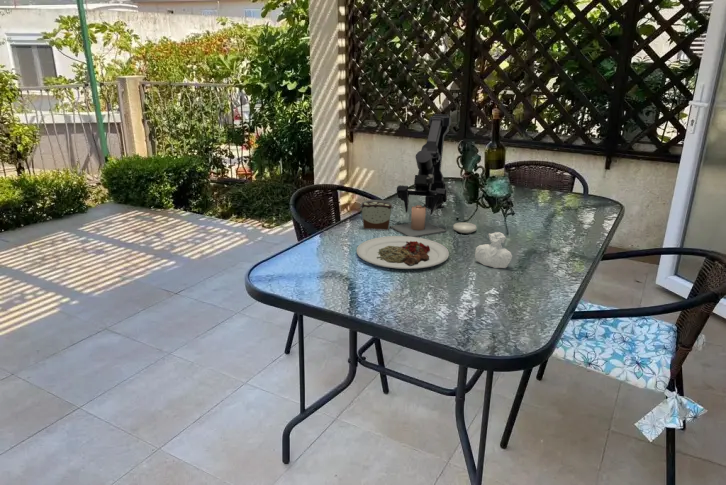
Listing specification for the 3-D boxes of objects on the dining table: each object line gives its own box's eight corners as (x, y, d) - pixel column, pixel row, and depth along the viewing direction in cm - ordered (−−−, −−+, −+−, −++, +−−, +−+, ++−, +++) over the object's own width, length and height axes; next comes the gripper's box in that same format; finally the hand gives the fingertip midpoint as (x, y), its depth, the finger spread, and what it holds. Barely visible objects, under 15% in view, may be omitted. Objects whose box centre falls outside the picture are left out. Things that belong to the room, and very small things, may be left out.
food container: (393, 225, 204) (394, 200, 201) (392, 230, 198) (393, 204, 195) (361, 224, 205) (361, 198, 202) (359, 228, 199) (360, 203, 196)
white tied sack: (510, 275, 164) (522, 242, 166) (504, 267, 158) (516, 233, 160) (475, 266, 171) (487, 234, 173) (467, 257, 165) (480, 225, 167)
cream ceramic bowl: (466, 226, 204) (466, 221, 203) (480, 232, 197) (481, 227, 196) (448, 229, 200) (448, 224, 199) (462, 235, 193) (463, 230, 193)
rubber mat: (424, 222, 208) (424, 220, 208) (446, 231, 197) (446, 230, 197) (389, 227, 201) (389, 226, 201) (410, 238, 190) (410, 236, 189)
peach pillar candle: (423, 226, 201) (424, 203, 198) (425, 230, 196) (426, 207, 194) (410, 226, 201) (411, 203, 198) (411, 230, 196) (412, 207, 193)
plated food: (341, 264, 165) (341, 254, 164) (375, 236, 192) (375, 227, 191) (435, 279, 155) (436, 269, 154) (457, 247, 181) (458, 238, 180)
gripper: (398, 164, 198) (390, 200, 192) (448, 167, 194) (442, 204, 187) (402, 180, 208) (395, 215, 202) (449, 183, 203) (444, 219, 197)
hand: (418, 213), depth 197 cm, fingers open, 9 cm apart
